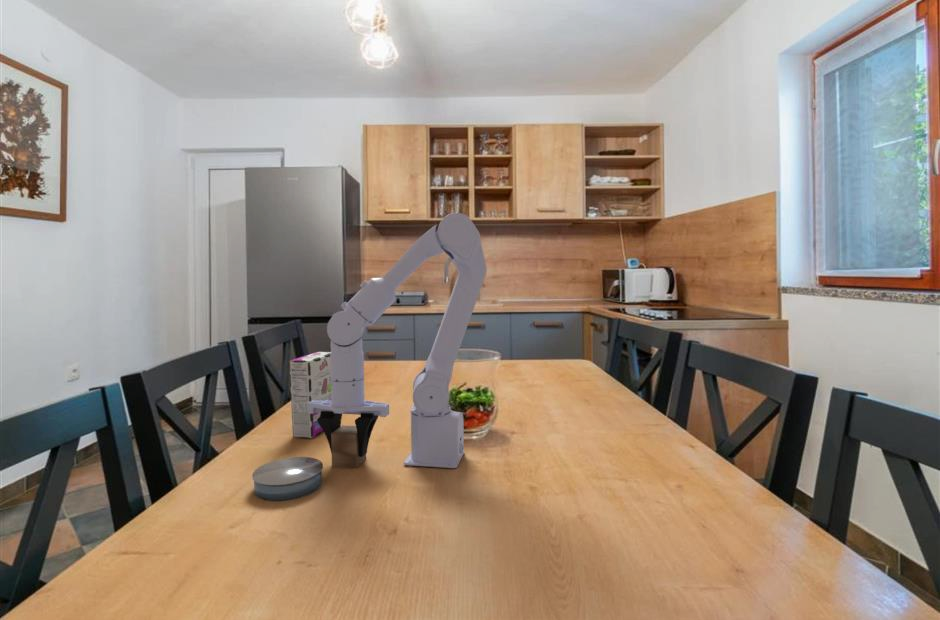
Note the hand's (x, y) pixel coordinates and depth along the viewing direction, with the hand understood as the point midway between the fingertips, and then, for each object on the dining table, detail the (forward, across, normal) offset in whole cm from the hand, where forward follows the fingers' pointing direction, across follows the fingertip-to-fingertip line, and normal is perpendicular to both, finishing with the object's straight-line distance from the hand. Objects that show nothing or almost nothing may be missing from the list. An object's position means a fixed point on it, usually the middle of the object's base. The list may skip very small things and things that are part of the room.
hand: (349, 453), depth 84 cm
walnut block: (+2, 0, 0) cm, 2 cm away
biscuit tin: (+2, -6, -10) cm, 12 cm away
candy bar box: (+2, -15, +16) cm, 22 cm away
